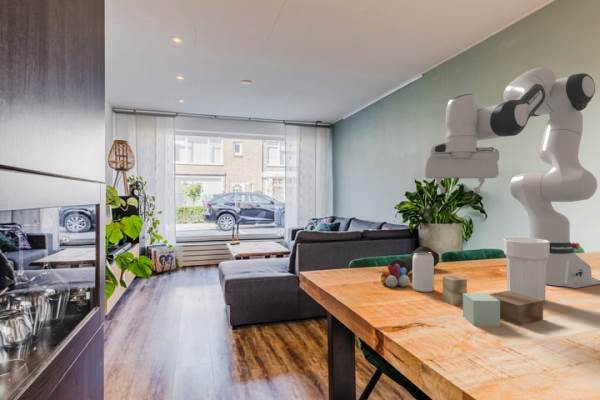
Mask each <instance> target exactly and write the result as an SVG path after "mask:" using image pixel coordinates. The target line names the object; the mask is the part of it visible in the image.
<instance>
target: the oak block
mask: <svg viewBox="0 0 600 400" xmlns="http://www.w3.org/2000/svg"><path fill="white" fill-rule="evenodd" d="M467 280H468V279H466V278H465V277H461V276H459V275H447V276H442V301H443V302H445V303H448V304H449V305H452V306H458V305H459V306H462V305H463V293H467V292H468V291H467V290H468V283H467V282H468V281H467Z"/></svg>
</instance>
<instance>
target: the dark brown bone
mask: <svg viewBox="0 0 600 400" xmlns="http://www.w3.org/2000/svg"><path fill="white" fill-rule="evenodd" d="M414 252H430V253H432V256H433V258H434V268H435V267H436V266H437V265H438V264H439V262H440V256H439V253H437V252H436V251H435V250H433V249H432V248H430V247H428V246H426V245H422V246H420V247H417V248H415V250H414V251H412V252H411V254H410V257H408V258H397V259H394V260H392V261H390V263H389V264H388V265H391V266H392V268H393V267H394V265H395V264H399V266H400V269H401V268H406V274H405V275H407V276H408V274H409V273H410V272H411V271H413V255H414Z"/></svg>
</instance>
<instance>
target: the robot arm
mask: <svg viewBox="0 0 600 400" xmlns="http://www.w3.org/2000/svg"><path fill="white" fill-rule="evenodd" d="M503 90H504V91H503V97H502V98H503V102H502V103H499V104H496V105H492V106H488V107H485V108H484V107H482V106H481V105H480V103H478V102H477V97H476V94H475V93H474V94H473V93H467V94H466V93H465V94H461V95H456V96H455V97H451V99H449V100H448V102H447V104H446V110H445V118H444V120H445V129H446V130H445V131H446V132H445V137H444V142H441V143H438V144H436V145H433V146H431V147H430V148H429V155H428V157H427V160H426V163H425V168H424V176H425V178H426V179H436V183H437V186H438V187H439V194H446V186H443V185H442V180H443V179H477V182H478V183H479V184H478V185H477V186H476V187H473V194H480V193H481V188H482V186H483V184H484V183H485V179H495V178H497V177H498V176H499V164H498V163H499V162H498V161H499V160H500V152H499V150H498V149H497V148H495V147H492V146H489V147H485V146H484V147H478V142H479V141H484V140H493V139H496V138H501V137H502V138H503V137H515V136H517V135H519V134H520V133H522V131H523V130H524V129H525V127H526V126H527V124H528V121H529V119H530V118H531V117H538V116H539V117H540V116H541V115H549V116H548V117H549V119H548V121H547V123H546V124H545V128H544V131H543V134H542V137H541V141H540V142H541V143H540V145H539V146H540V147H539V149H538V150H539V151H538V156H539V158H540V159H541V160H542V161H543V162H545V163H546V164H548V165H551V169H549V170H541V171H539V170H538V171H528V172H523V173H519V174H516V175H514V176H513V177H512V178H511V180H510V183H509V187H508V188H509V192H510V194H511V196H512V197H513V198H514V199H515V200H517V201H518V202H520V203H521V205H522V206H523V208H524V209H525V211H526V213H527V216H528V220H529V228H530V229H529V230H530V232H529V233H530V235H529V236H530V238H533V239H542V240H547V241H549V242H550V249H549V258H548V259H547V263H546V285H549V286H558V287H566V288H574V289H578V288H582V287H583V288H584V287H590V286H593V285H600V279H598V278H595V277H592V268H591V265H590V264H589V263H587V262H586V261H585V260H583V259H582V258H581V257H580V256H578V254H576V253H575V250H574V249H576V250H579V249H580V248H581V245H580V243H579V242H578V243H577V242H576V243H575V242H571V237H570V236H571V235H570V234H571V233H570V230H571V229H570V228H571V223H570V220H569V219H568V217H567V216H566V215H564V214H562V213H560V212H558V211H556V210H555V208H554V207H553V204H552V203H554V202H555V203H556V202H557V203H567V202H568V203H572V202H580V201H587V200H589V199H591V198H592V197H593V196H594V195H595V194H596V192H597V189H598V181H597V178H596V176H595V175H594V174H593V173H592V172H590V171H589V170H587V169H585V168H584V166H582V164H581V162H580V160H579V151H580V144H581V141H582V136H583V128H584V127H583V125H584V121H583V120H584V119H583V117H584V116H583V114H582V112H581V111H583V110H584V109H586V108H587V106H588V104H589V103H590V102H591V101H592V99H593V97H594V95H595V92H596V84H595V81H594V79H593V77H592V76H591V75H589V74H587V73H584V72H582V73H581V72H580V73H575V74H571V75H569V76H565V77H561V78H557V79H556V74H555V72H554V71H553V70H552V69H550V68H548V67H545V66H543V67H542V66H539V67H535V68H531V69H530V70H527V71H526V72H523V73H521V74H520V75H519V76H518V77H517V76H516V78H514V79H513V80H512V81H511V82H510V83H508V85H506V87H505V89H503Z"/></svg>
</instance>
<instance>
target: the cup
mask: <svg viewBox="0 0 600 400" xmlns="http://www.w3.org/2000/svg"><path fill="white" fill-rule="evenodd" d="M549 249H550V242H549V241H547V240H542V239H533V238H531V237H505V238H503V254H504V255H505V256H506V258H505V259H506V279H507V280H506V283H507V287H506V288H507V291H510V292H513V293H517V294H521V295H525V296H528V297H532V298H536V299H539V300H543V304H544V303H546V288H547V284H546V263H547V259H548V258H549Z"/></svg>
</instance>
